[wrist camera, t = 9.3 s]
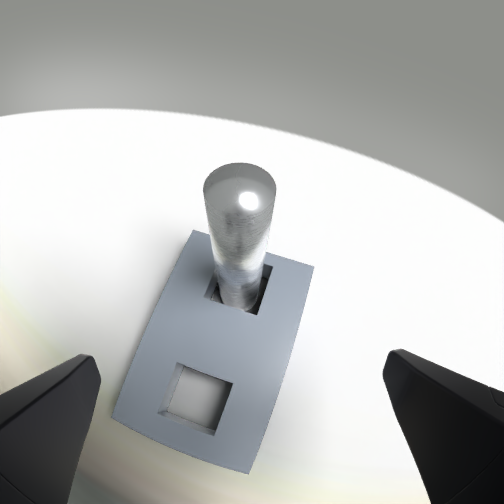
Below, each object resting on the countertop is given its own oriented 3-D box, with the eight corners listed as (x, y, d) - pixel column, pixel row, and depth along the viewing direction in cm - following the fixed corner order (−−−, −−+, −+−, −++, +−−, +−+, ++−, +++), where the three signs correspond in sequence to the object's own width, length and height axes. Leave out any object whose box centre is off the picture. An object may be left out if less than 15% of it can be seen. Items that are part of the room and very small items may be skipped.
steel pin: (244, 318, 21) (251, 228, 10) (213, 299, 22) (188, 195, 11) (264, 289, 22) (288, 180, 11) (234, 270, 23) (230, 154, 12)
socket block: (247, 465, 15) (248, 474, 13) (124, 415, 16) (111, 417, 14) (307, 279, 23) (314, 266, 21) (197, 245, 24) (193, 229, 22)
